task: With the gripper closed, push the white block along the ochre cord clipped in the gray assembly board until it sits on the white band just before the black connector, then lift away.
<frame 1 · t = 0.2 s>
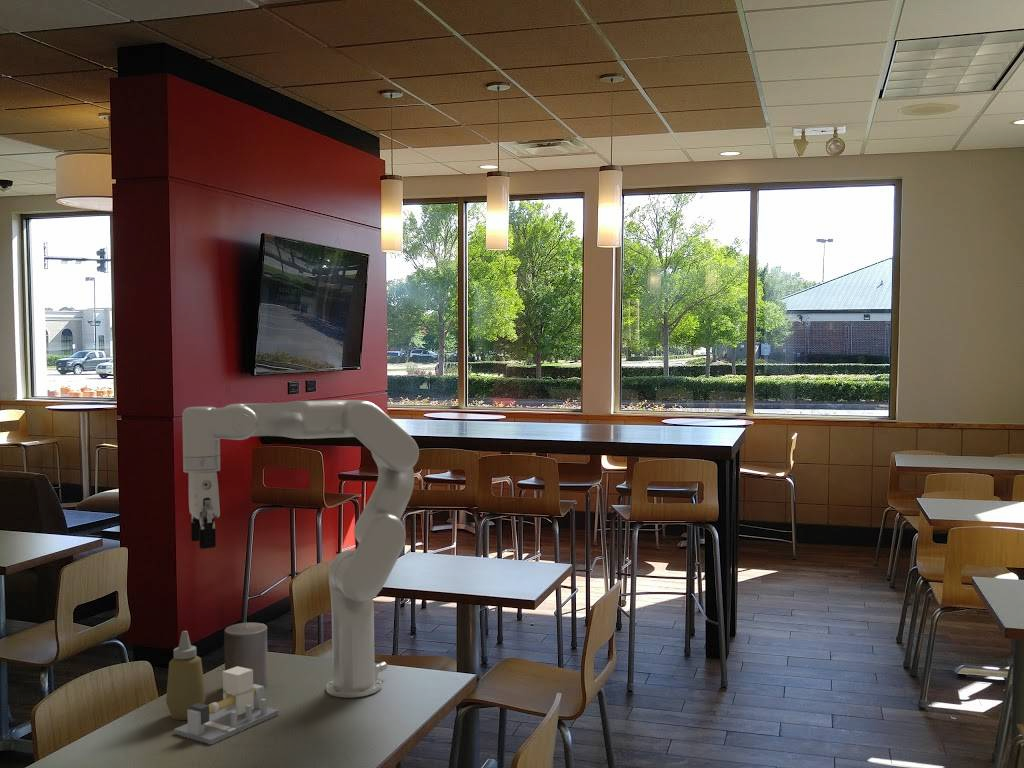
hand: (203, 544, 198), 36 cm above the table, tool pointing down, fingers open, 9 cm apart
squeeze bottle: (186, 716, 197), on the table
gray assembly board: (227, 724, 192), on the table
white block: (238, 690, 195), point 6 cm above the table, slide at 0.0 cm
pillar candle: (246, 687, 215), on the table
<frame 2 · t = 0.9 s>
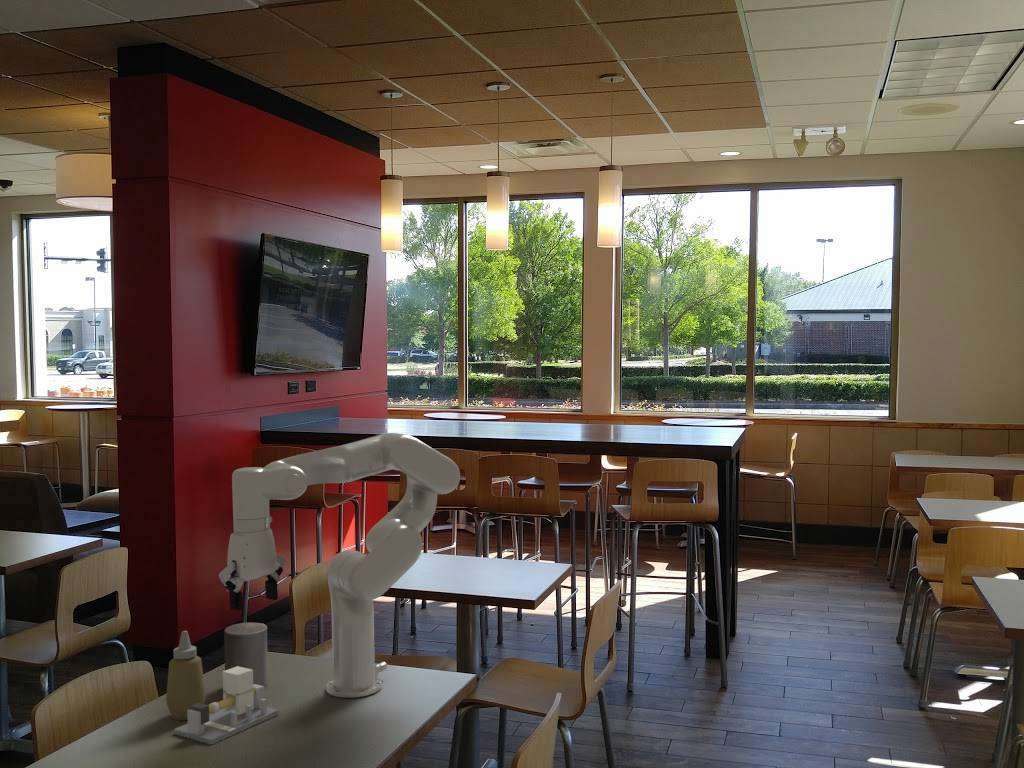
hand: (254, 604, 199), 23 cm above the table, tool pointing down, fingers open, 9 cm apart
nothing on the table moved.
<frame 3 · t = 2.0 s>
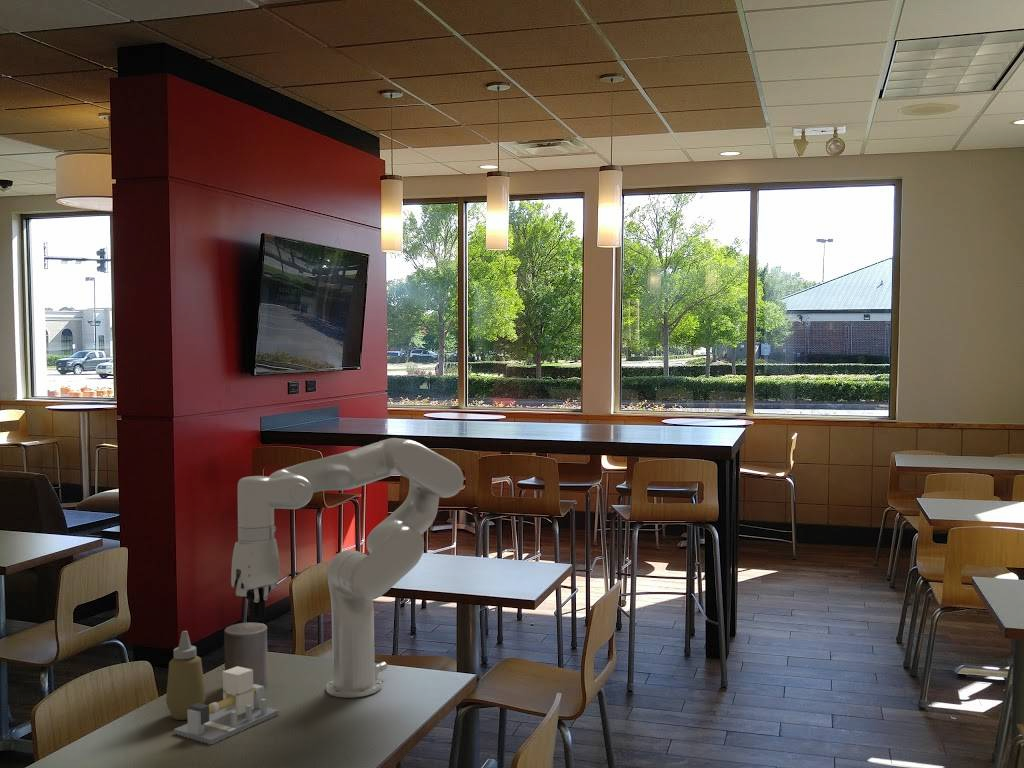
hand: (257, 618, 199), 20 cm above the table, tool pointing down, fingers closed
nothing on the table moved.
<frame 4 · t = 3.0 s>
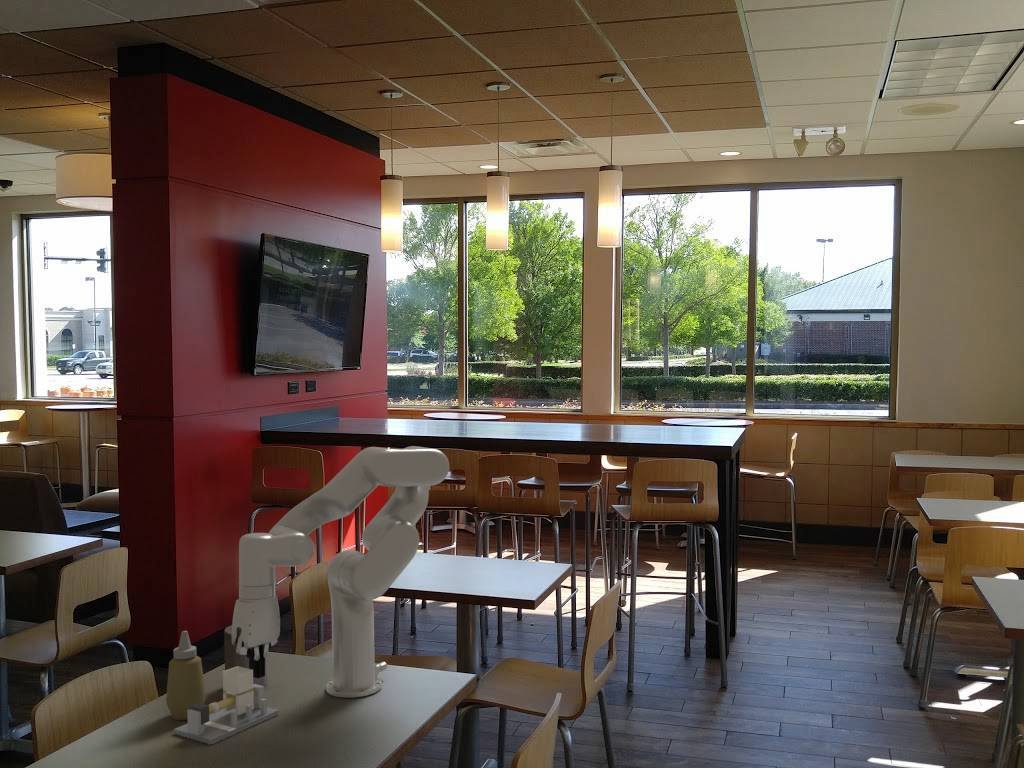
hand: (257, 676, 199), 7 cm above the table, tool pointing down, fingers closed
nothing on the table moved.
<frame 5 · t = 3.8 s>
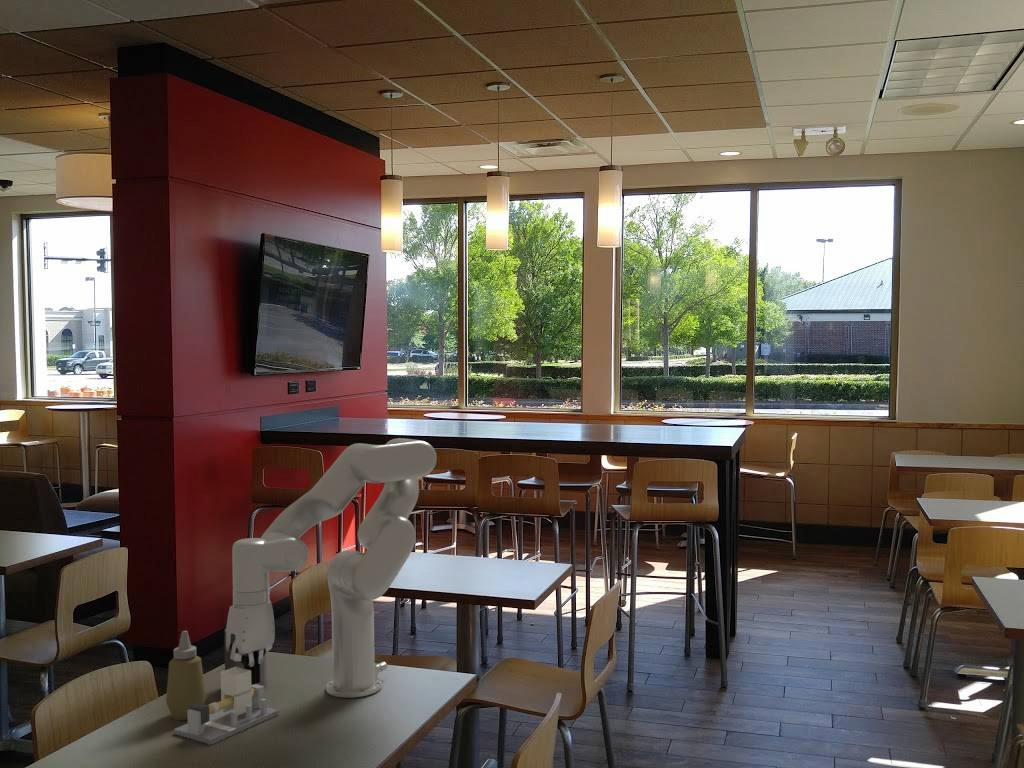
hand: (252, 682, 198), 7 cm above the table, tool pointing down, fingers closed
white block: (236, 691, 194), point 6 cm above the table, slide at 0.5 cm, touching gripper
everything else where it was.
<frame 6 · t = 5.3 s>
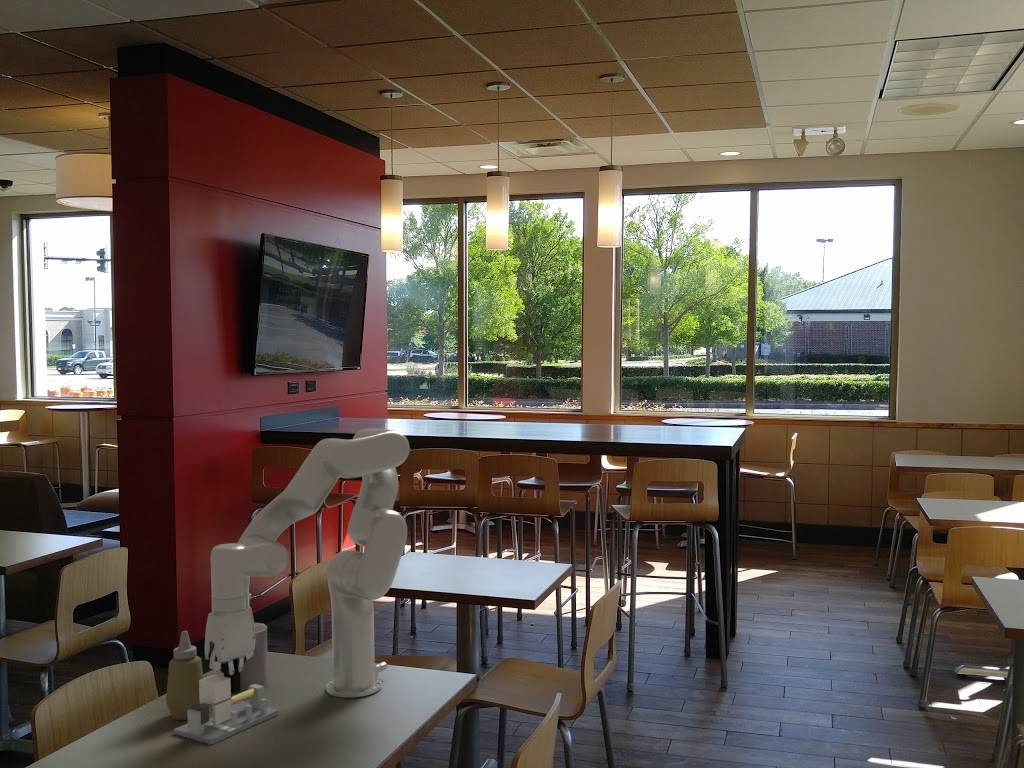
hand: (232, 691, 193), 6 cm above the table, tool pointing down, fingers closed
white block: (215, 699, 190), point 6 cm above the table, slide at 6.1 cm, touching gripper
everything else where it was.
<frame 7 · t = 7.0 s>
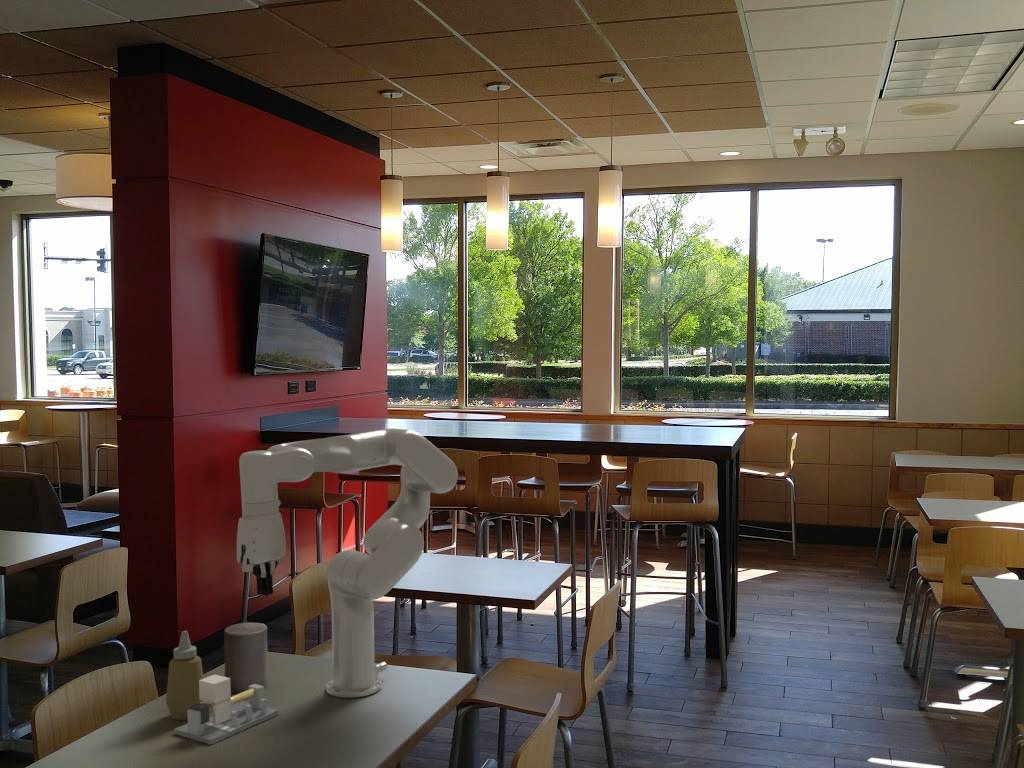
hand: (265, 594, 198), 26 cm above the table, tool pointing down, fingers closed
white block: (215, 699, 190), point 6 cm above the table, slide at 6.1 cm
everything else where it was.
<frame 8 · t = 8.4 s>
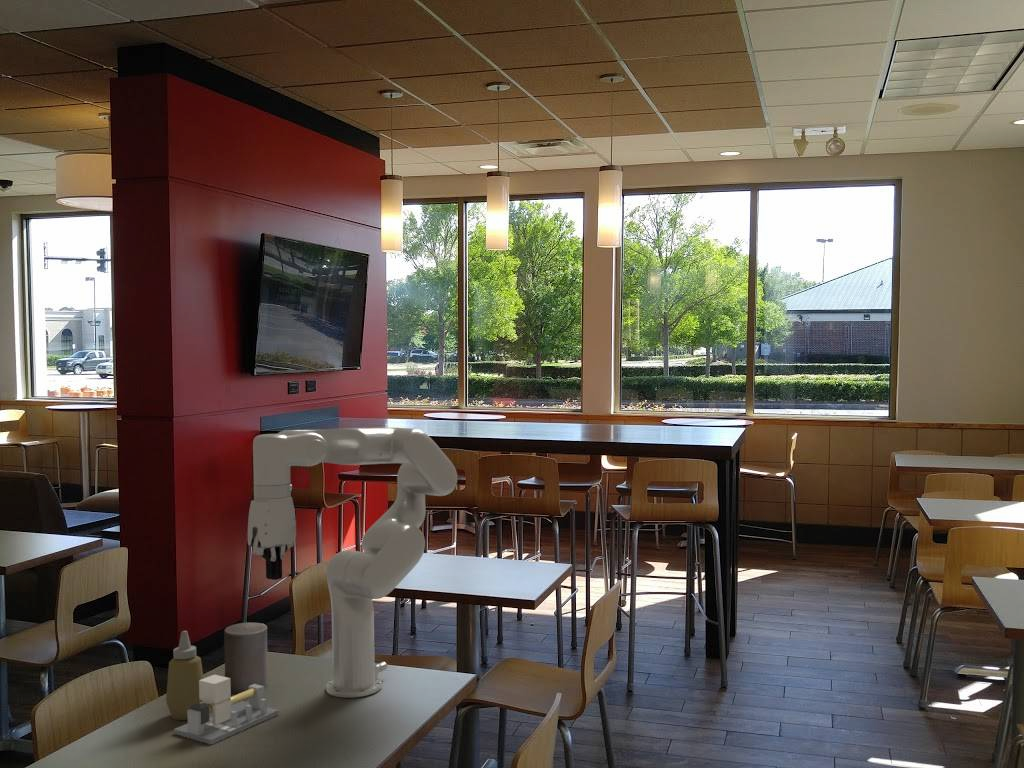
hand: (274, 578, 197), 29 cm above the table, tool pointing down, fingers closed
nothing on the table moved.
at the end: white block slide at 6.1 cm; squeeze bottle moved 0.2 cm from its start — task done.
